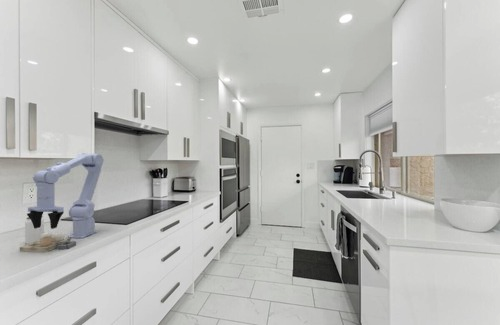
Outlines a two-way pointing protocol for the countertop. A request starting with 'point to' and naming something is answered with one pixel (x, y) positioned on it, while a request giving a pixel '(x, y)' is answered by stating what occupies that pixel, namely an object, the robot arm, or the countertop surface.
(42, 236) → the white egg
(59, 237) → the white egg
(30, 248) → the carton
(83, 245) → the countertop surface
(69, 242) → the egg stand
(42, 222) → the can
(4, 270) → the countertop surface
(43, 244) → the brown egg
